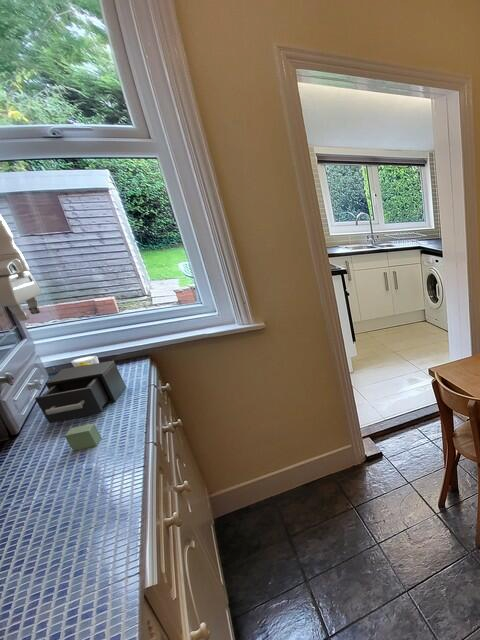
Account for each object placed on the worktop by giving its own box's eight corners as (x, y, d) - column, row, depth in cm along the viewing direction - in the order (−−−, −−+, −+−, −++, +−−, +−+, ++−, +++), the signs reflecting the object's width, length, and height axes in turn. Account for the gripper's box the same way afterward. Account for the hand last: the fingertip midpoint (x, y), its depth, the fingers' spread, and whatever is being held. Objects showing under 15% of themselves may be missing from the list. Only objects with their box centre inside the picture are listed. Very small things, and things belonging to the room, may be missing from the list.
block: (73, 451, 102) (64, 435, 100) (79, 443, 105) (70, 428, 103) (96, 445, 104) (88, 430, 102) (102, 438, 107) (94, 423, 105)
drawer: (98, 418, 116) (85, 393, 113) (42, 429, 111) (27, 404, 108) (113, 396, 129) (102, 374, 126) (65, 406, 124) (52, 383, 121)
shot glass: (84, 375, 151) (75, 357, 148) (108, 371, 153) (99, 354, 150) (76, 382, 145) (67, 363, 142) (101, 377, 148) (92, 359, 145)
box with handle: (115, 401, 128) (101, 373, 124) (61, 412, 123) (44, 383, 119) (126, 386, 139) (113, 360, 135) (76, 396, 133) (62, 368, 129)
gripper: (2, 263, 116) (28, 311, 122) (-33, 271, 100) (-1, 326, 106) (33, 261, 119) (57, 308, 125) (4, 268, 103) (33, 321, 109)
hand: (30, 316), depth 115 cm, fingers open, 8 cm apart
